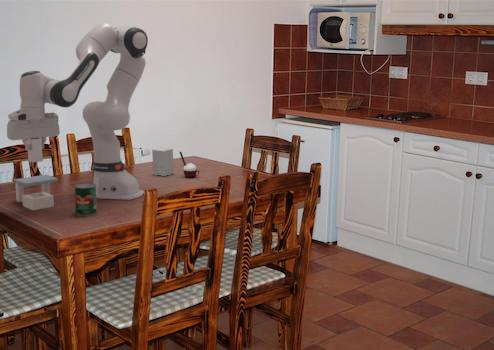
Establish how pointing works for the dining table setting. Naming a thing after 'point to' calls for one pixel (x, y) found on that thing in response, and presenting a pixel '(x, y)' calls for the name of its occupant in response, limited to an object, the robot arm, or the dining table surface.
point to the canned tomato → (85, 199)
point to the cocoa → (189, 168)
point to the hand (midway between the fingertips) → (34, 149)
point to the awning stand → (35, 199)
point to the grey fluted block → (162, 161)
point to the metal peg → (35, 150)
